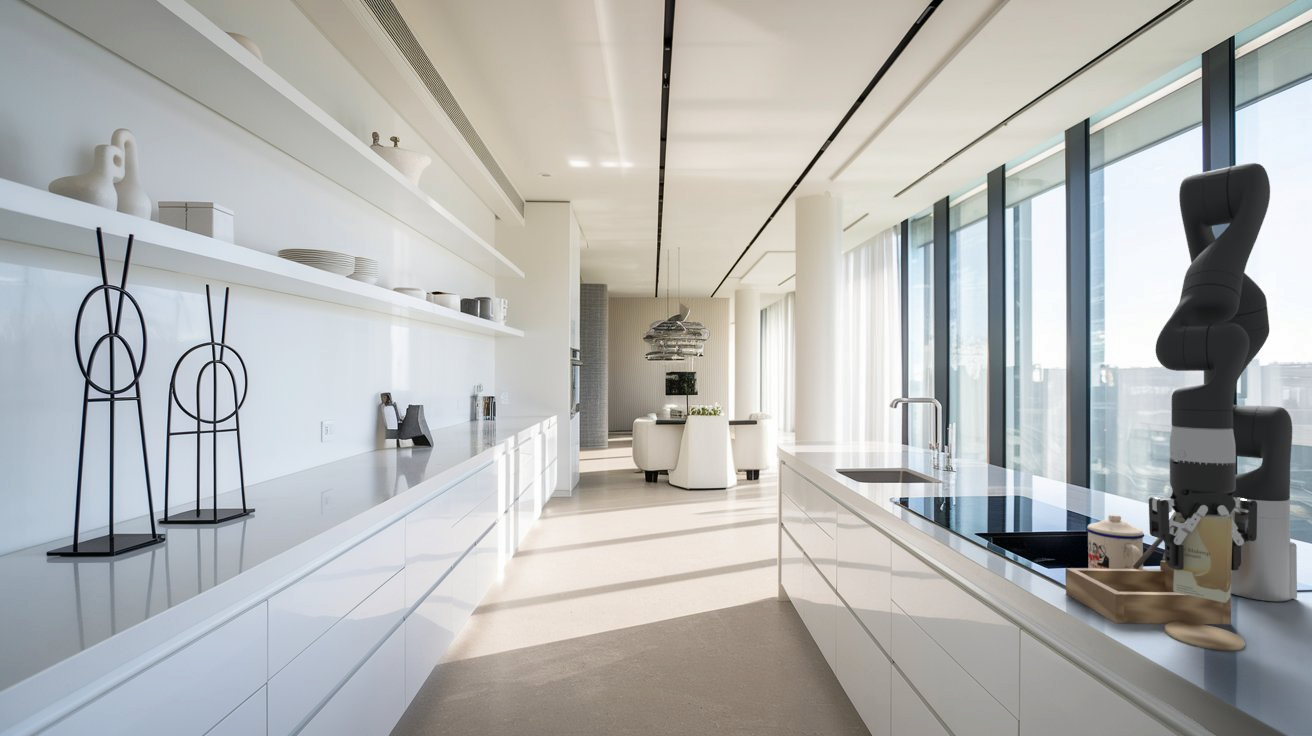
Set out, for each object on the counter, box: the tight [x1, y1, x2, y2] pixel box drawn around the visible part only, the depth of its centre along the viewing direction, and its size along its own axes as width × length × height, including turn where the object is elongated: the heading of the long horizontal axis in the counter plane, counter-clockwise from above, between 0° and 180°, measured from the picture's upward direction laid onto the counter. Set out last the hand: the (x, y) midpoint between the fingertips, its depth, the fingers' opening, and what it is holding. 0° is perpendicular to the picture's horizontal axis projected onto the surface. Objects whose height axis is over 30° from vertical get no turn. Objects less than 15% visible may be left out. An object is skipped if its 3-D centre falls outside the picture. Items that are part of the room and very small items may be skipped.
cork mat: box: [1164, 622, 1245, 652], centre depth 96 cm, size 9×9×1 cm
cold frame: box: [1065, 510, 1235, 625], centre depth 109 cm, size 21×14×19 cm
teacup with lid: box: [1086, 514, 1145, 569], centre depth 124 cm, size 12×9×12 cm
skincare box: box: [1173, 512, 1233, 603], centre depth 96 cm, size 6×4×12 cm
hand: (1202, 568), depth 96 cm, fingers closed on skincare box, 7 cm apart
